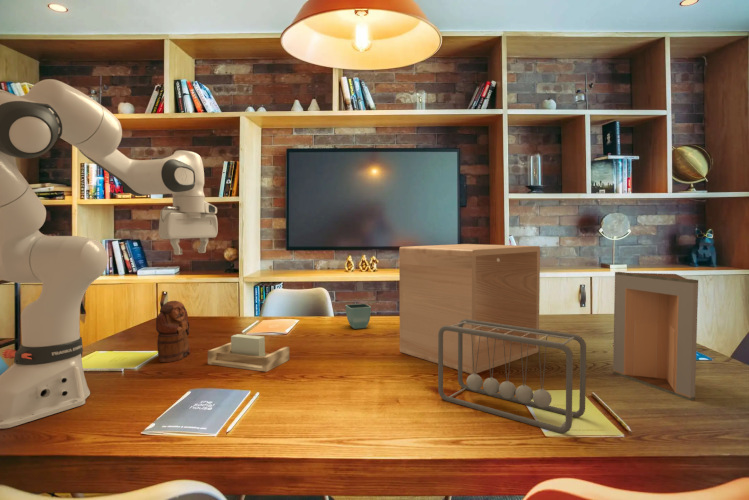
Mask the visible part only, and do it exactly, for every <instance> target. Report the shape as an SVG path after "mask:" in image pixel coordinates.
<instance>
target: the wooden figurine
mask: <svg viewBox="0 0 749 500" xmlns="http://www.w3.org/2000/svg"><path fill="white" fill-rule="evenodd" d="M190 330H191V329H190V322H189V316H188V311H187V309H186V307H185V305H184V304H183V303H182V302H181V301H179V300H170V301H166V302H165V303H164V304H162V306H161V307H160V310H159V314H157V316H156V319H155V331H156V332H158V336H157V340H156V341H157V343H156V345H157V355H158V359H159V362H160V363H171V362H177V361H180V360H182V359H183V358H185V357H187V356H188V354H191V350H190V342H189V335H190V332H191V331H190Z"/></svg>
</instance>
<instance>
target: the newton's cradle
mask: <svg viewBox="0 0 749 500" xmlns="http://www.w3.org/2000/svg"><path fill="white" fill-rule="evenodd" d="M464 324H470V325H476V326H479V327H480V326H483V327H490V328H495V329H496V331H497V329H503V330H510V332H511V331H512V333H513V331H517V332H523V333H528V334H537V335H539V336H543V337H541V338H539V339H533V338H529V337H528V338H526V337H523V336H522V337H520V336H513V335H507V334H506V333H505V334H500V333H494V332H489V331H481V329H480V330H475V328H474V329H468V328H463V325H464ZM455 326H458V327H455ZM476 328H478V327H476ZM493 330H494V329H493ZM444 331H453V332H458V370H457V382H458V384H459V386H460V387H461V388H462V389H460V390H458V391H457V392H454V393H453V394H451V395H449V396H448V395H446V394H445V392H444V366H443V333H444ZM490 331H491V330H490ZM463 333H465V334H471V338H472V335H477V336H483V337H487V344H488V337H489V338H495V343H496V339H501V340H503V343H504V340H507V341H511V345H512V341H513V342H519V343H526V344H528V346H529V344H532V345H538V346H539V347H544V350H545V351H544V360H543V362H544V363H543V364H544V365H543V372H545V370H546V369H545V367H546V354H547V348H550V349H555V350H557V349H558V350H562V351H563V352H564V354H565V355H566V358H565V359H566V360H565V361H566V364H565V367H566V368H565V369H566V370H565V372H566V373H565V377H566V378H565V408H561V407H556V406H554V405H551V404H552V395H551V393H550V392H549V391H548V390H546V389H545V388H544V386H543V385H544V381H545V373H542V369H541V368H542V367H541V366H542V365H539V375H540V380H542V381H540V388H539V389H537V390H535V391H533V389H532V388H531V387H530V386H529V385H526V380H527V373H525V377H524V375H522V384H521V385H519V386H518V387H516V386H515V384H514V383H513V382H511V381H509V380H510V378H509V377H510V372H507V371H505V380H506V381H502V382H501V383H500V382H499V381H498V380H497V379H496V378H494V377H493V376H494V375H493V374H494V368H491V370H492V371H491V370H489V376H490V377H487V378H486V379H484V381H483V378H482V377H481V376H480V375H479V374H478V373H476V371H475V373H474V374H469V375H468V376H467V377H466V380H465V381H466V383H465V382H464V381H463V371H462V361H463ZM508 333H509V332H508ZM526 335H527V334H526ZM524 336H525V335H524ZM548 337H551V338H557V339H563V340H564V339H565V341H564V342H556V341H550V340H547V339H548ZM544 338H545V340H544ZM571 341H577V342H578V344H579V345H580V347H579V349H580V350H579V351H580V352H579V353H580V354H579V356H580V357H579V399H578V400H579V402H578V404H579V406H578V407H579V409H578V410H576V411H573V379H574V378H573V373H574V372H573V369H574V367H573V366H574V357H573V352H572V350H571V348H569V346H567V344H569V342H571ZM585 341H586V340H584V339H583V337H582V336H580V335H577V334H574V333H573V334H572V333H568V332H560V331H553V330H546V329H540V328H539V329H533V328H526V327H519V326H512V325H504V324H497V323H490V322H483V321H476V320H469V319H464V320H462V321H460V323H458V324H455V325H452V326H443V327H441V328H440V330H439V333H438V364H437V366H438V367H437V369H438V370H437V371H438V372H437V375H438V376H437V377H438V378H437V385H438V387H437V390H438V394H439V396H440V397H441V399H442V400H444V401H445V402H448V403H449V402H450V403H451V404H452V403H453V404H456V405H460V406H463V407H467V408H469V409H473V410H477V411H480V412H483V413H484V412H485V413H488V414H491V415H495V416H498V417H503V418H506V419H509V420H513V421H516V422H520V423H524V424H527V425H530V426H534V427H537V428H540V429H545V430H548V431H552V432H555V433H559V434H564V433H565V434H566V433H567V432H569V431H570V430H571V428H572V423H573V418H580V417H583V415H584V414H585V411H586V389H587V387H586V386H587V383H586V382H587V381H586V380H587V378H586V377H587V376H586V374H587V343H586V342H585ZM479 343H480V337H479ZM478 351H479V346H478ZM472 354H473V343H472ZM494 354H495V346H494ZM488 355H489V347H488ZM504 356H505V346H504ZM510 358H511V349H510ZM538 358H539V359H538V360H539V361H538V362H539V363H541V352H540V348H539V351H538ZM520 359H523V358H522V347H521V358H520ZM477 360H478V354H477ZM526 360H528V349H527V356H526ZM523 364H524V362H523V360H521V368H522V369H521V370H522V374H524V365H523ZM504 365H505V366H504V367H505V370H507V363H506V359H505V364H504ZM493 366H494V358H493ZM527 366H528V361H526V363H525V372H528V371H527V369H528V367H527ZM489 367H490V359H489ZM510 367H511V362H510V361H509V362H508V371H510ZM476 368H477V363H476ZM473 370H474V359H473ZM507 373H508V375H507ZM542 374H543V376H542ZM464 390H466V391H469V392H473V393H478V394H482V395H486V396H489V397H493V398H497V399H502V400H504V401H508V402H513V403H515V404H516V403H517V404H522V405H524V406H528V407H531V408H532V407H533V408H537V409H541V410H545V411H548V412H552V413H556V414H560V415H564V416H565V421H564V422H563V423H562V424H561V425H560V426H557V425H555V424H550V423H548V422H543V421H540V420H537V419H533V418H529V417H525V416H522V415H519V414H518V415H517V414H514V413H511V412H507V411H503V410H501V409H500V410H499V409H496V408H492V407H488V406H485V405H481V404H478V403H473V402H470V401H468V400H467V401H466V400H464V399H463V400H462V399H459V398H455V396H456V395H458V394H460V393H461V392H463V391H464Z"/></svg>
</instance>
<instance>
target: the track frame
mask: <svg viewBox="0 0 749 500" xmlns="http://www.w3.org/2000/svg"><path fill="white" fill-rule="evenodd" d="M288 361H290V346H283V347H281V348H279V349H277V350H274V351H273V352H271V353H266V352H265V356H264V357H262V356H253V355H244V354H236V353H231V342H228V343H225V344H222V345H220V346H217V347H215V348H212V349H208V350H207V365H212V366H219V367H220V366H221V367H227V368H235V369H241V370H243V369H244V370H250V371H259V372H264V373H265V372H266V373H268V372H269V371H271V370H273V369H274V368H277V367H278V366H280V365H283V364H284V363H286V362H288Z"/></svg>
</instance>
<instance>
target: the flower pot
mask: <svg viewBox="0 0 749 500" xmlns="http://www.w3.org/2000/svg"><path fill="white" fill-rule="evenodd" d="M371 312H372V306H371V305H369V304H367V303H353V304H345V314H346V319H347V322H348V325H349V326H350V327H351V328H352V329H354V330H358V329H366V328H367V327H368V325H369V323H370V320H371Z"/></svg>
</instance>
